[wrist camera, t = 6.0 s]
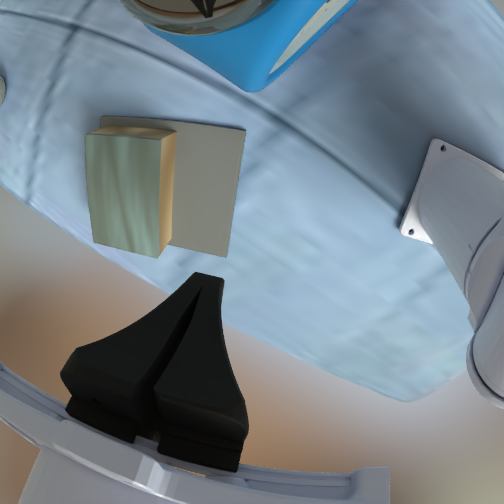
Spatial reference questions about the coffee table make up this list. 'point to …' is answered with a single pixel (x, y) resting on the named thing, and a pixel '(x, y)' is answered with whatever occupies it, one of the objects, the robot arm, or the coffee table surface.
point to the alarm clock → (241, 32)
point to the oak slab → (131, 187)
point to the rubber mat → (199, 180)
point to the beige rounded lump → (2, 90)
